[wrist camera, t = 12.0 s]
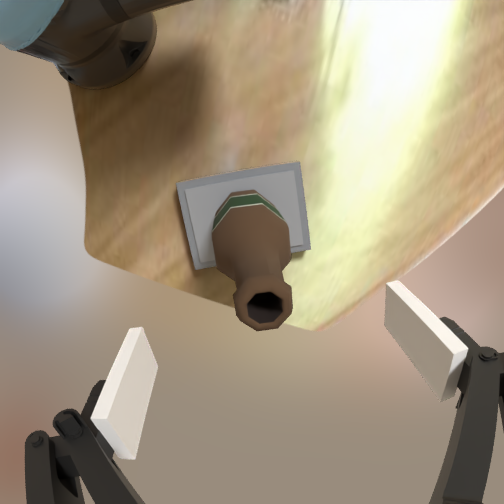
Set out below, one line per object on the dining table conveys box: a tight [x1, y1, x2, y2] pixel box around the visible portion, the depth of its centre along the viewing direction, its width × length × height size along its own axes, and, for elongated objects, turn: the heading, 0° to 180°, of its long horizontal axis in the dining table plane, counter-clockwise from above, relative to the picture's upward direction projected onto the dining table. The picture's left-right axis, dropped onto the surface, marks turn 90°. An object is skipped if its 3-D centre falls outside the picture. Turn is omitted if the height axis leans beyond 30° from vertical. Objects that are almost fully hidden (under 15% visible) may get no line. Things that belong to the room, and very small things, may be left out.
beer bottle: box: [212, 189, 293, 331], centre depth 30 cm, size 8×8×24 cm
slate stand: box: [176, 161, 311, 270], centre depth 42 cm, size 12×16×2 cm
